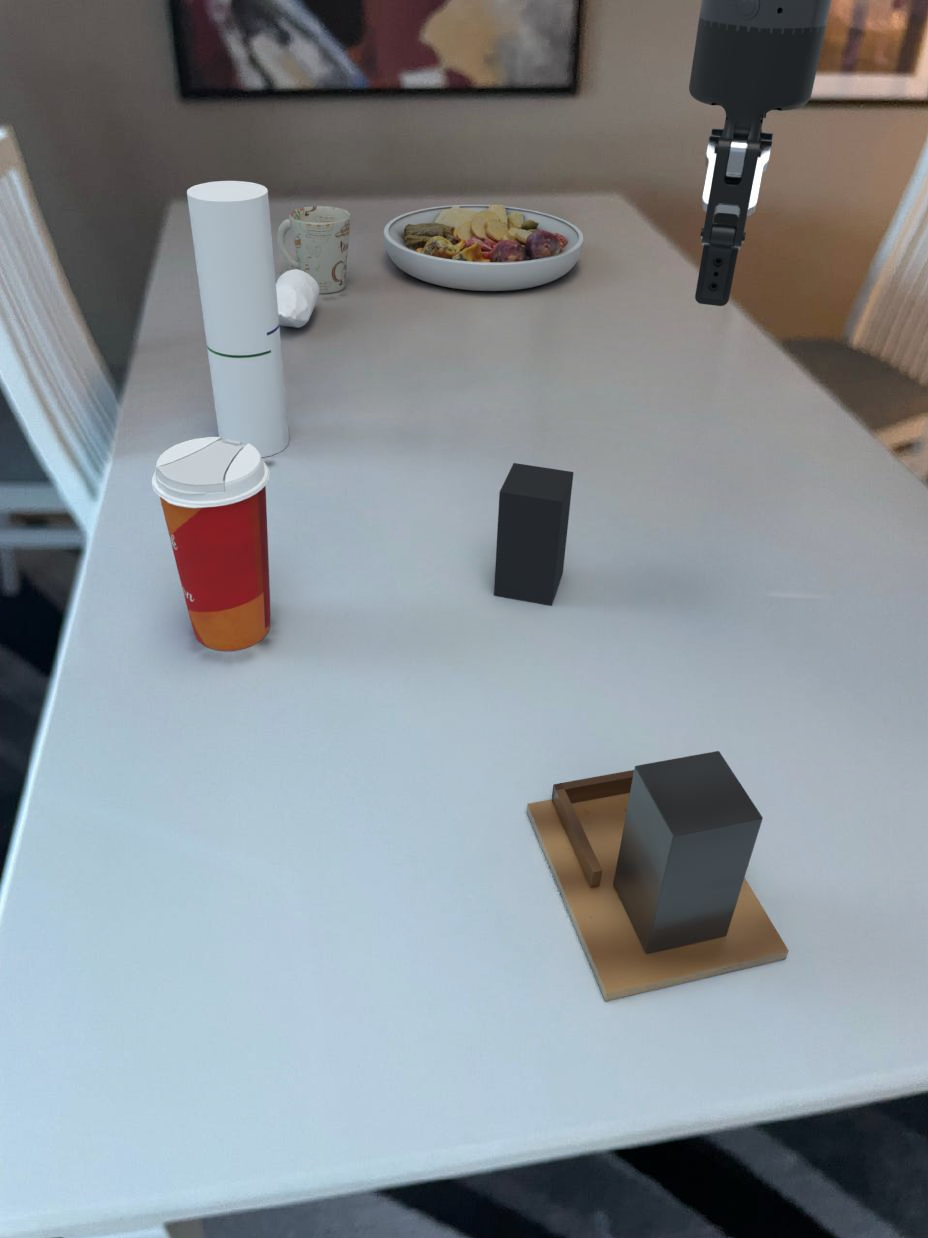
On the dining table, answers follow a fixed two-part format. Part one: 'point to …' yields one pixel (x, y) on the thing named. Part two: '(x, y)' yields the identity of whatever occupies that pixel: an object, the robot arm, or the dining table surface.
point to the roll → (296, 297)
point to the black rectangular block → (532, 533)
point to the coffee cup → (219, 537)
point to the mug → (319, 244)
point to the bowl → (483, 246)
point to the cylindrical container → (240, 311)
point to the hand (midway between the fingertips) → (715, 282)
